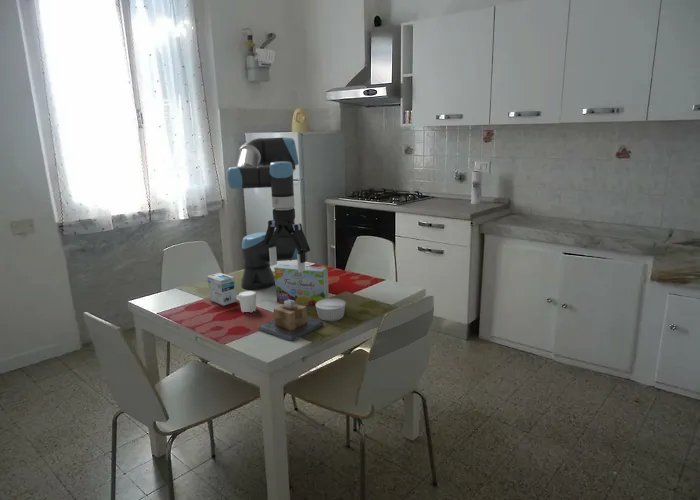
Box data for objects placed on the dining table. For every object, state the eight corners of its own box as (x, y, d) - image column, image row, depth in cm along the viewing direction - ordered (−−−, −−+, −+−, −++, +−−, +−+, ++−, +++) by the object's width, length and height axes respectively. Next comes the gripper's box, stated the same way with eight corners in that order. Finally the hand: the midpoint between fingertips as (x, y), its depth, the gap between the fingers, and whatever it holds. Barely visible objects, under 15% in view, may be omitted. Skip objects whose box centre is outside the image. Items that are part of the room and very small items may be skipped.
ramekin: (322, 324, 171) (321, 310, 170) (311, 314, 181) (311, 301, 180) (350, 319, 175) (350, 305, 174) (339, 309, 185) (338, 296, 184)
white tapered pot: (242, 314, 182) (240, 297, 181) (237, 309, 188) (236, 292, 186) (259, 311, 185) (258, 294, 184) (254, 305, 191) (253, 289, 189)
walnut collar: (274, 324, 168) (273, 308, 166) (290, 317, 174) (289, 302, 173) (291, 330, 163) (290, 313, 162) (307, 322, 169) (306, 306, 168)
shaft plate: (258, 330, 168) (256, 303, 165) (290, 315, 180) (289, 290, 177) (291, 341, 158) (290, 313, 156) (323, 325, 170) (322, 298, 168)
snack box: (275, 302, 194) (273, 267, 190) (282, 298, 199) (279, 263, 196) (324, 307, 188) (323, 270, 184) (329, 302, 193) (328, 266, 189)
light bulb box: (237, 301, 196) (235, 276, 194) (223, 306, 192) (220, 280, 189) (223, 296, 204) (220, 271, 201) (209, 300, 199) (206, 275, 196)
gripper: (250, 206, 166) (255, 265, 172) (303, 213, 151) (306, 277, 157) (266, 203, 172) (270, 260, 177) (318, 209, 157) (321, 271, 163)
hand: (287, 268), depth 167 cm, fingers open, 13 cm apart
